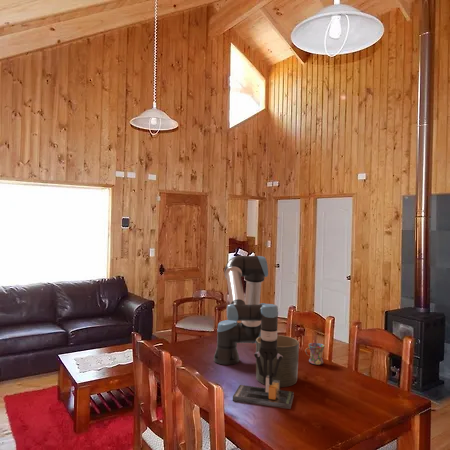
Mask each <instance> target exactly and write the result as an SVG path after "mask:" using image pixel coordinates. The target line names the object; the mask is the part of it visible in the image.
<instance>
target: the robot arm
mask: <svg viewBox="0 0 450 450" xmlns="http://www.w3.org/2000/svg"><path fill="white" fill-rule="evenodd" d="M267 261H268V260H267V258H266V257H265V256H262V255H236V256H233V257H231V259H229V260H228V262H227V263H226V264H225V267H224V270H223V271H224V273H223V274H224V278H225V279H226V282H227V283H226V284H227V289H228V290H227V291H228V299H229V304H227V305H226V319H225V320H224V319H223V320H221V321H220V322H218V324H217V330H216V333H217V336H216V339H217V340H216V349H215V352H214V355H213V362H215V363H216V364H219V365H225V366H230V365H236V364H238V363H240V356H239V355H240V354H239V352H238V351H239V350H238V348H237V345H238V344H256V339H257V338H258V337H260V336H261V338H262V339H261V342H260V350H259V352H256V351H255V352H254V358H255V361H256V360H257V364H258V369H259V374H260V375H262V376H263V377H264V378H263V383H264V384H266V385H265V388H266V391H265V392H268V393H269V386H270V385H271V384H272V377H276V374H277V371H278V367H279V363H280V361H281V359H282V357H283V356H282V355H280V354H279V353H278V351H277V340H276V339H277V335H278V322H279V321H278V320H279V308H278V305H276V304H273V303H264V302H263V303H262V302H261V293H262V292H261V291H262V283H263V282H264V281H265V279H266V278H268V276H269V267H268V262H267ZM242 277H244V278H243V279H244V281H245V282H246V283H245V284H246V285H245V286H246V287H245V293H244V288H243V282H242ZM238 321H239V322H238ZM260 354H261V356H262V357H263V359H264V372H263V369H262V365H261V360H260ZM276 356H277V359H278V360H277V363H276V367H275V370H274V373H273V359H274V358H275V357H276ZM267 360H269V376H267ZM264 384H263V385H264Z"/></svg>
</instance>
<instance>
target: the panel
mask: <svg viewBox="0 0 450 450" xmlns="http://www.w3.org/2000/svg"><path fill="white" fill-rule="evenodd" d="M272 385H273V386H276V399H275V400H274V399H269V393H268V392H265V391H266V387H259V386H258V387H257V386H253V385H252V386H251V385H245V384H244V385H243V384H239V385H238V387H237V389H236V391H235V392H234V394H233V395H232V401H233V402H239V403H246V404H252V405H259V406H267V407H272V408H279V409H280V408H281V409H289V410H291V408H292V404H293V401H294V397H295V396H294V394H295V393H294V391H289V390H282V389H280V388H281V387H280V381H279V380H273V382H272Z"/></svg>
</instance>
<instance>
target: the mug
mask: <svg viewBox="0 0 450 450" xmlns="http://www.w3.org/2000/svg"><path fill="white" fill-rule="evenodd" d="M324 348H325V344H323V343H318V342H310V343H308V347H306V348H305V349H304V351H305V352H304V353H305V354H306V355H307V356H308V357H309V359H308V362H309V363H310V364H312V365H318V366H319V365H323V364H324V360H323V353H324ZM307 350H309V351H310V355H309V354H308V353H307Z"/></svg>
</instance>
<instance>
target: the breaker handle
mask: <svg viewBox="0 0 450 450" xmlns="http://www.w3.org/2000/svg"><path fill="white" fill-rule="evenodd" d="M269 399H274V400H275V399H276V386H273V385H270V386H269Z"/></svg>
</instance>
